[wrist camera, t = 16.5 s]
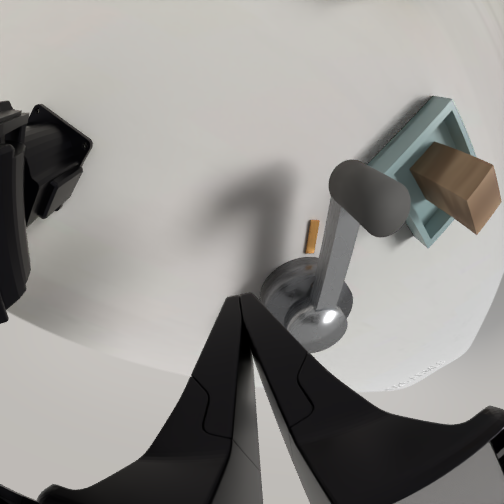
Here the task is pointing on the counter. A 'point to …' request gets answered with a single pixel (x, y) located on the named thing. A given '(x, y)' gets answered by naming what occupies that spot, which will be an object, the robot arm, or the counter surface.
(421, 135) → the tray
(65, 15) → the counter surface
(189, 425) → the robot arm
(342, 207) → the crank
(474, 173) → the block
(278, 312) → the crank base
